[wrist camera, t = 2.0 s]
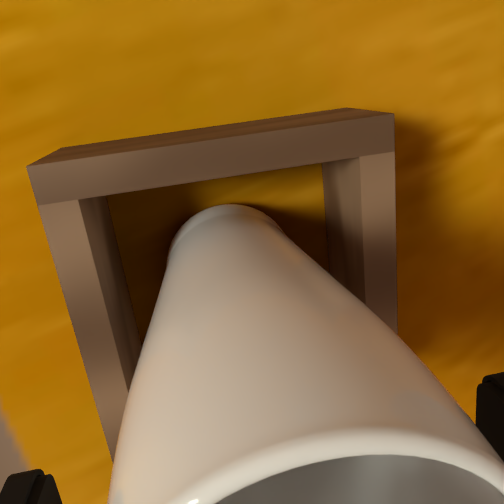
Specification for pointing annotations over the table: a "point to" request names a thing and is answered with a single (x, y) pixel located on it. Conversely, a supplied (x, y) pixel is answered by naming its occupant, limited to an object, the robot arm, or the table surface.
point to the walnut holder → (199, 169)
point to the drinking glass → (284, 388)
